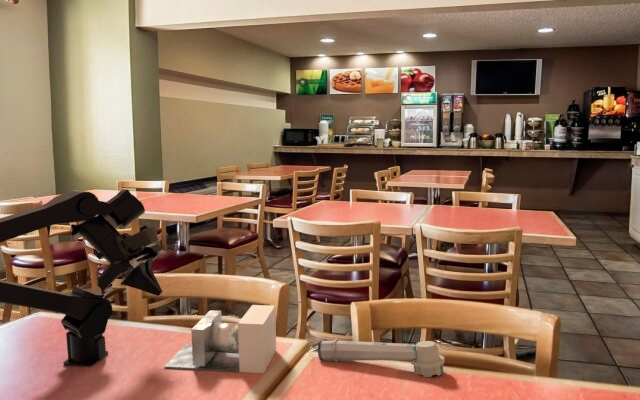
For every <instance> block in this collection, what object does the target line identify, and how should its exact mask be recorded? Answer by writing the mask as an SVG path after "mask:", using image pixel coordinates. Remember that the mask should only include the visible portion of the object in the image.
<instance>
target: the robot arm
mask: <svg viewBox="0 0 640 400" xmlns="http://www.w3.org/2000/svg"><path fill="white" fill-rule="evenodd" d="M145 211H146V208H145V205H144V204H143V202H142V201H140V200H139V199H138V198H137V196H135V194H132V193H131V192H130V190H129V189H124V188H123V189H121V190H120V191H119V192H118V193H117V194H116V195H114V196H113V197H111V198H110V199H108V200H107V201H104V200H100V199H98V197H97V196H96V195H95V193H93V192H90V191H85V190H80V189H69V190H67V191H65V192H63V193H61V194H59V195H57V196H54V197H53V198H52V199H50V200H49V201H48V202H46V203H43V204H42V205H40V206H36V207H33V208H29V209H27V210H23V211H20V212H17V213H14V214H11V215H9V214H8V215H7V216H4V217H0V243H4V242H7V241H9V240H12V239H15V238H18V237H22V236H23V235H26V234H30V233H32V232H36V231H39V230H41V229H44V228H48V227H52V226H53V225H59V224H60V225H61V224H70V223H71V225H70V230H71V233H70V241H71V242H74V241H76V240H77V239H79V238H80V237H82V238H83V239H84V240H85V241H86V242H88V244H89V245H90V246H92V247H93V249H94V250H96V252H97V253H98V254H97V255H96V256H95V257H96V258H97V259H99V260H103V259H104V260H106V262H107V263H108V265H107V267H106V268H104V269H103V271H102V272H101V273H100V274H99V275H98V277H96V285H97V287H99V288H100V290H102V291H103V292H106V291H108V290H110V289H111V288H112V287H113V283H114V282H115V281H116V279H118V278H119V277H120V276H122V277H121V278H122V279H123V280H122V281H121V282H120V284H119V285H121V286H127V287H129V288H133V289H137V290H140V291H142V292H145V293H148V294H151V295H154V296H157V297H159V296H160V295H161V294H163V290H162V287H161V286H160V284H159V281H158V279H157V278H156V276H155V273H154V271H153V269H152V268H153V262H154V260H155V259H156V258H157V257H158V256H159V255H160V254H161V252H163V248H162V247H161V246H160V245H159V244H158V243H155V242H157V241H159V238H158V236H157V235H158V232H159V229H157V228H155V227H154V225H153V226H152V225H151V224H150V223H147V224H144V225H143V226H140V227H139V231H138V232H136V233H134V234H132V235H130V234H129V233H127V232H124V233H121V232H120V231H118V229H117V228H121V229H125V228H127V227H128V226H129V225H130V224H131V223H133V222H134V221H136V220H138V218H139V217H141V216H142V215H143V214H145ZM78 222H80V223H78ZM72 223H78V224H72ZM0 303H3V304H8V305H14V306H20V307H26V308H31V309H37V310H41V311H47V312H54V313H59V314H64V316H63V318H62V319H61V320H60V324H61V325H62V327H63V329H64V330H65V331H67V332H66V334H65V335H66V349H67V350H66V351H67V359H65V361H63V362H62V363H63V365H64V366H79V367H93V366H95V365H96V364H97V363H98V362H100V361H101V360H102V359H104V358H105V357H106V356H107V355H108V354H109V351H108V350H106V349H107V347H106V337H105V335H103V334H105V332H106V329H107V325H108V322H109V319H110V317H111V315H112V313H113V305H112V303H111V301H110V300H109V299H107V298H105V294H104V293H101V292H98V291H97V290H94V289H93V288H80V287H78V286H76V285H72V291H68V292H61V291H57V290H52V289H46V288H41V287H37V286H32V285H27V284H22V283H16V282H13V281H7V280H3V279H0Z"/></svg>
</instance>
